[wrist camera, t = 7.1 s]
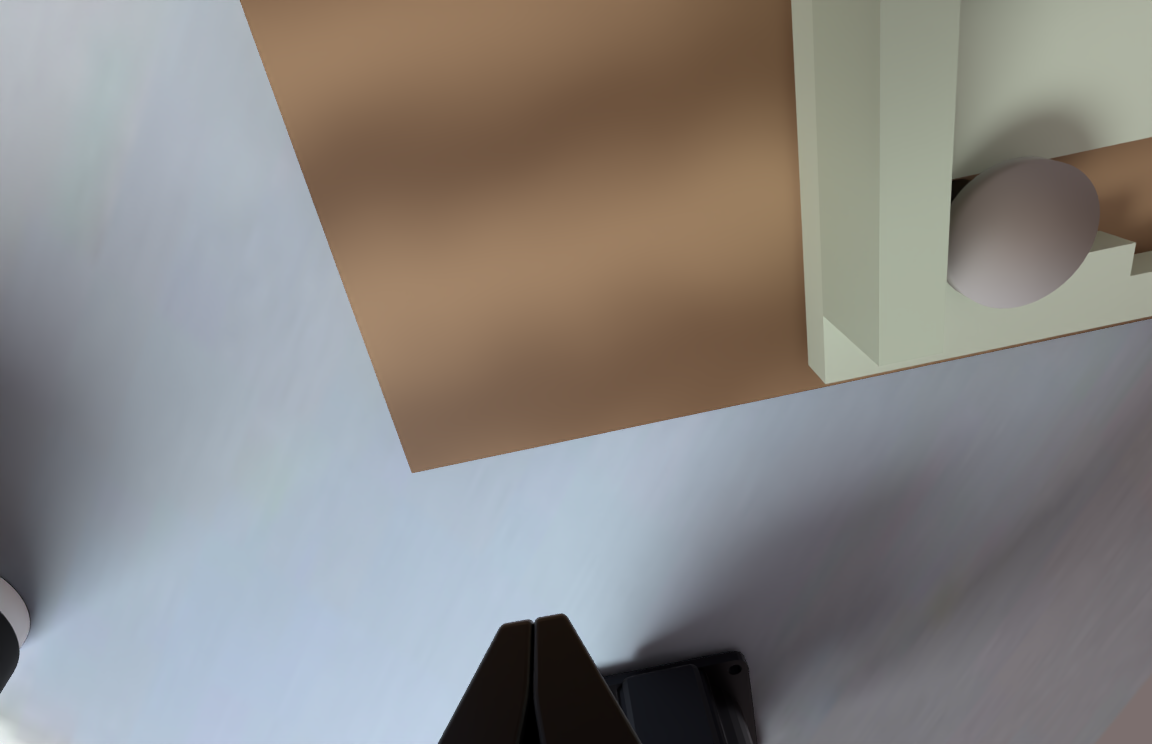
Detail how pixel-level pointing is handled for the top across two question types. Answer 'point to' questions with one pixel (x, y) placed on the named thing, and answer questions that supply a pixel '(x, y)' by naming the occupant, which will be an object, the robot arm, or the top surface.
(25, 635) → the dixie cup
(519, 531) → the top surface
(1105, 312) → the sage panel
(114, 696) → the top surface
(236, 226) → the top surface
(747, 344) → the walnut board
